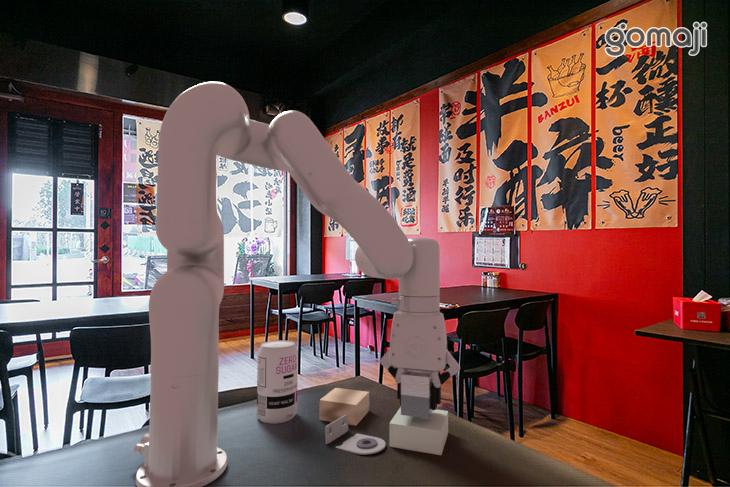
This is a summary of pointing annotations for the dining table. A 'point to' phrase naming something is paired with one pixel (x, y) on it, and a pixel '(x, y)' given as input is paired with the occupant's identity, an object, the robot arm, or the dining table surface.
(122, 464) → the dining table surface
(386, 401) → the dining table surface
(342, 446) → the bracket
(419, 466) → the dining table surface
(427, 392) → the block
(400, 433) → the stand
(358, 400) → the stand
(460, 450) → the dining table surface
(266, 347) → the supplement can
